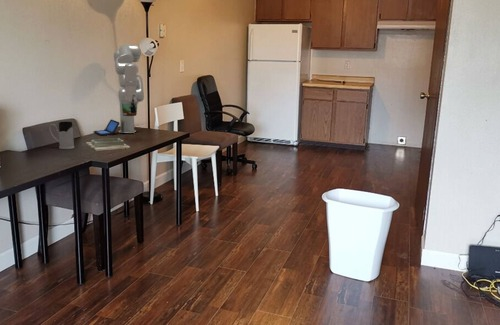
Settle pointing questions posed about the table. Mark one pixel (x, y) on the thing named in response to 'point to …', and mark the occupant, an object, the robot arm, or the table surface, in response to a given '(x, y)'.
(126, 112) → the food container
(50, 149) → the table surface
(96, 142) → the stand
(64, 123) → the grey pitcher
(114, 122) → the game console
